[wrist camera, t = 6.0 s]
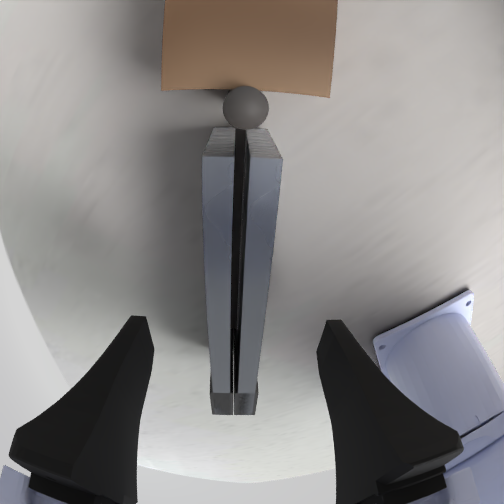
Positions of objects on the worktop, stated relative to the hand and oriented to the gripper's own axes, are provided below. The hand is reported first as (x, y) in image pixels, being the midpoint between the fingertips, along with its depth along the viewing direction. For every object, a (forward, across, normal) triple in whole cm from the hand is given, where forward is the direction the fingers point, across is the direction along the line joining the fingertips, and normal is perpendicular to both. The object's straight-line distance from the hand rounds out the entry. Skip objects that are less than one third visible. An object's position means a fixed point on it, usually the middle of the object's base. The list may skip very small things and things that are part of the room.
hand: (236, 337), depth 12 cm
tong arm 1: (+4, +1, -1) cm, 4 cm away
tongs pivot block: (+4, 0, -11) cm, 11 cm away
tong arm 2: (+4, -1, -1) cm, 4 cm away
